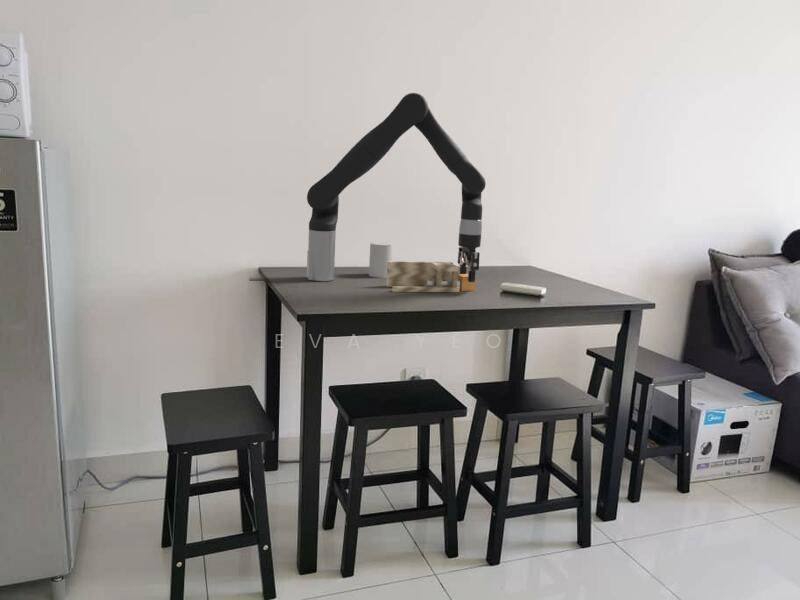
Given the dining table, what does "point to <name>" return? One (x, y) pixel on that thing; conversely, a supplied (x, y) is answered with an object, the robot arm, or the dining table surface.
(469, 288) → the block
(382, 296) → the dining table surface
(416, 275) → the bridge channel
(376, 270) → the cup
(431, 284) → the grey long rectangular bar
